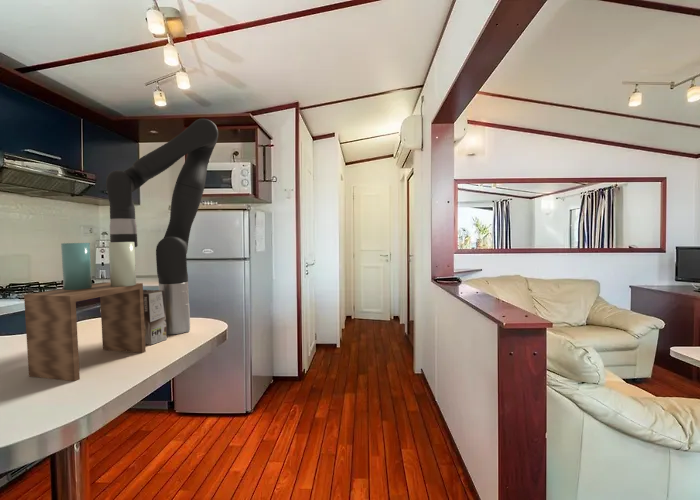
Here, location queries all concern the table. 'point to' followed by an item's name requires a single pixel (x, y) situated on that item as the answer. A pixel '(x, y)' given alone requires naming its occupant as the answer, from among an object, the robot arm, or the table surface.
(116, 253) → the pale green cylinder
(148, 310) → the coffee box
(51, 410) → the table surface
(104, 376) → the table surface
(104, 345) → the stand
